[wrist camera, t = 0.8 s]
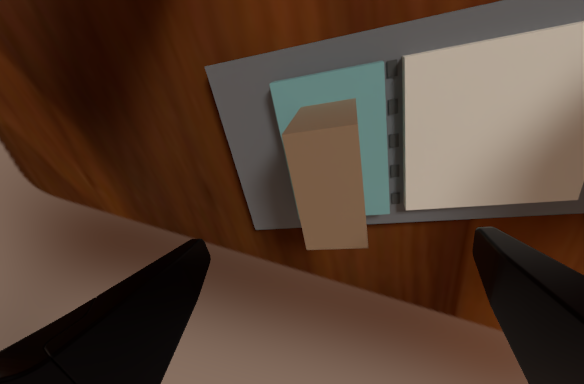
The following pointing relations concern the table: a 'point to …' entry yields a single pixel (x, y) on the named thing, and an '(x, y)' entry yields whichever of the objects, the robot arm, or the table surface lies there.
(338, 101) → the stub
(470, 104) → the board
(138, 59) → the table surface
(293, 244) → the table surface
